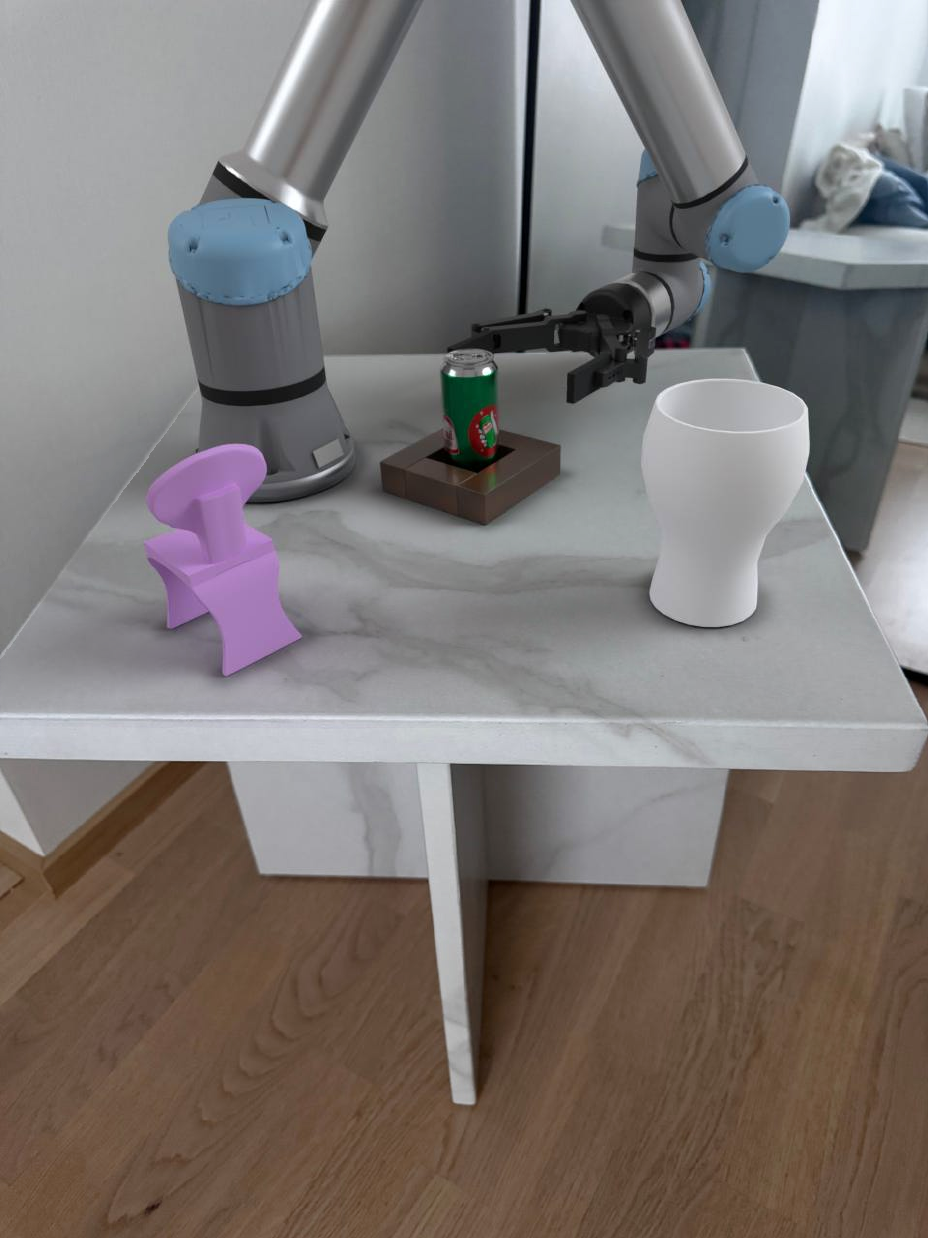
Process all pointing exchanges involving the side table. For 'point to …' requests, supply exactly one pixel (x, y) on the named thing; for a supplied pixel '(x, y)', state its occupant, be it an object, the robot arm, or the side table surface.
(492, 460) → the soda can
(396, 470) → the square frame
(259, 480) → the toy chair
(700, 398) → the cup
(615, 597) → the side table surface
